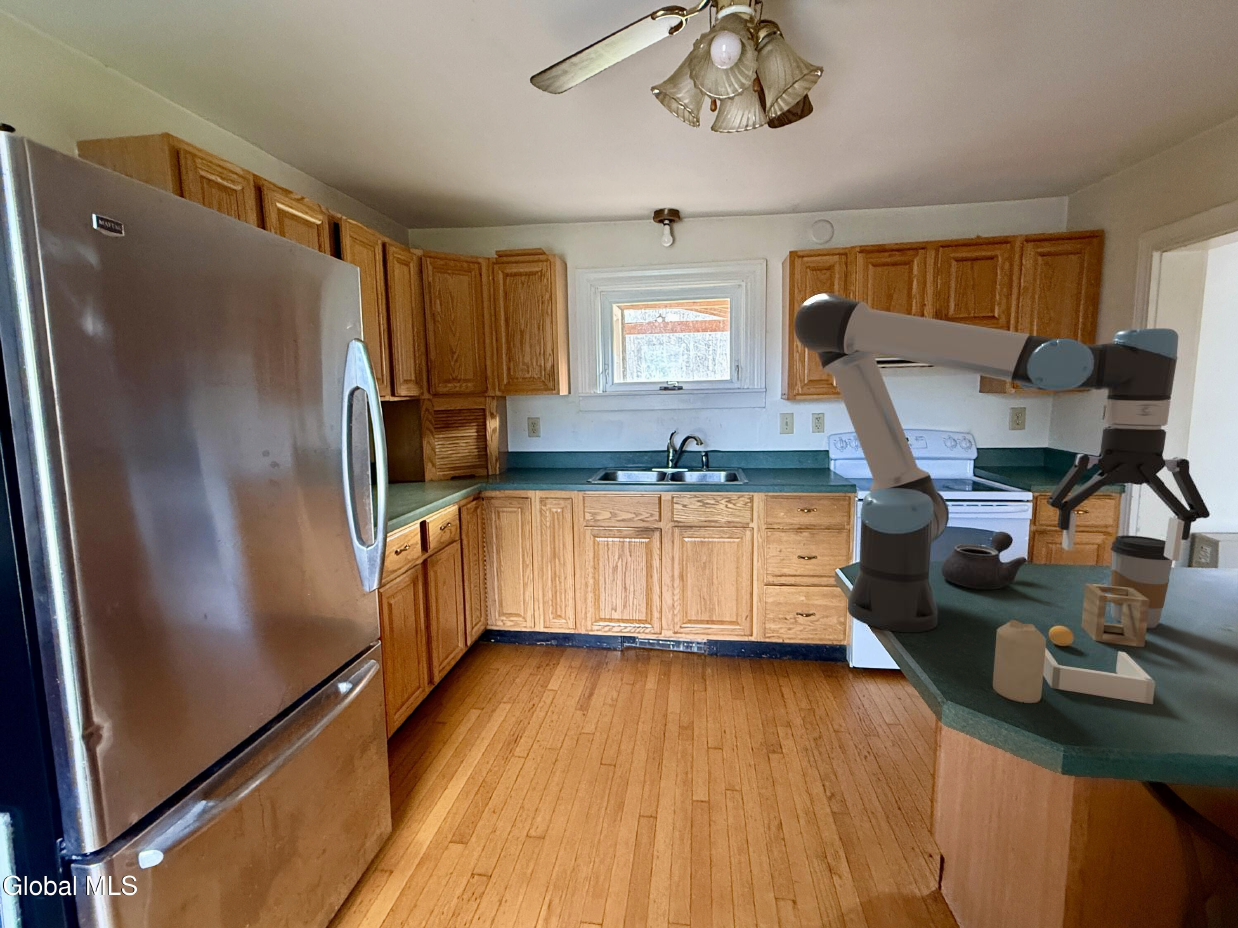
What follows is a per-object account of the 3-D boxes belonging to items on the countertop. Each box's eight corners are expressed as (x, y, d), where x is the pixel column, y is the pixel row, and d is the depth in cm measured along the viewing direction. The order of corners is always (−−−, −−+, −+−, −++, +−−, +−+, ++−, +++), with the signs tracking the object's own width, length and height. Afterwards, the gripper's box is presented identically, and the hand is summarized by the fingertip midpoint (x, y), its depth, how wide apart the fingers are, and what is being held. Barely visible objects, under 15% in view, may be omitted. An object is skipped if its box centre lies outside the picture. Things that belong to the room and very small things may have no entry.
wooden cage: (1094, 640, 92) (1099, 595, 91) (1081, 626, 97) (1085, 583, 96) (1144, 647, 89) (1149, 600, 88) (1127, 632, 95) (1132, 587, 94)
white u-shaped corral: (1051, 687, 78) (1053, 666, 77) (1033, 659, 86) (1034, 639, 85) (1152, 704, 73) (1155, 681, 73) (1122, 672, 81) (1125, 652, 81)
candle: (983, 683, 79) (988, 617, 78) (1018, 681, 79) (1024, 615, 78) (1013, 704, 74) (1019, 634, 72) (1051, 702, 74) (1058, 632, 73)
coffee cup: (1179, 632, 94) (1190, 548, 92) (1123, 629, 96) (1132, 546, 94) (1144, 613, 102) (1153, 535, 100) (1093, 610, 104) (1100, 533, 102)
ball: (1051, 647, 90) (1053, 628, 89) (1045, 639, 92) (1046, 621, 92) (1075, 650, 88) (1077, 631, 88) (1068, 642, 91) (1070, 624, 91)
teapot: (1016, 602, 109) (1020, 553, 108) (932, 582, 120) (934, 538, 119) (1040, 579, 121) (1044, 536, 120) (961, 564, 133) (964, 523, 131)
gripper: (1047, 426, 90) (1033, 550, 93) (1255, 431, 80) (1232, 569, 83) (1033, 423, 97) (1021, 539, 100) (1224, 427, 87) (1204, 555, 90)
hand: (1117, 553), depth 91 cm, fingers open, 13 cm apart
